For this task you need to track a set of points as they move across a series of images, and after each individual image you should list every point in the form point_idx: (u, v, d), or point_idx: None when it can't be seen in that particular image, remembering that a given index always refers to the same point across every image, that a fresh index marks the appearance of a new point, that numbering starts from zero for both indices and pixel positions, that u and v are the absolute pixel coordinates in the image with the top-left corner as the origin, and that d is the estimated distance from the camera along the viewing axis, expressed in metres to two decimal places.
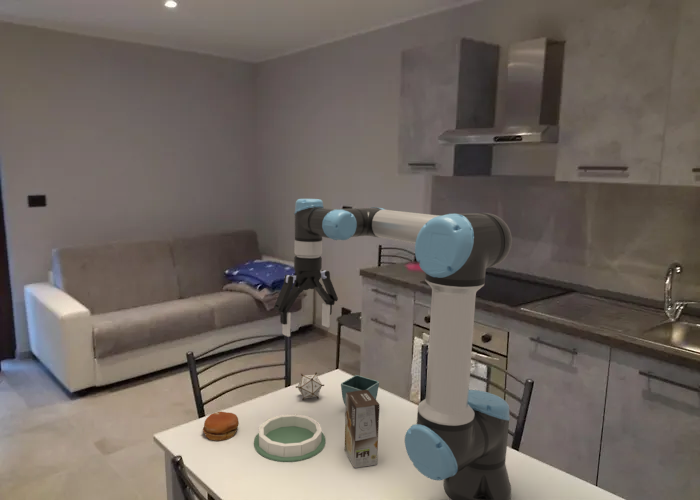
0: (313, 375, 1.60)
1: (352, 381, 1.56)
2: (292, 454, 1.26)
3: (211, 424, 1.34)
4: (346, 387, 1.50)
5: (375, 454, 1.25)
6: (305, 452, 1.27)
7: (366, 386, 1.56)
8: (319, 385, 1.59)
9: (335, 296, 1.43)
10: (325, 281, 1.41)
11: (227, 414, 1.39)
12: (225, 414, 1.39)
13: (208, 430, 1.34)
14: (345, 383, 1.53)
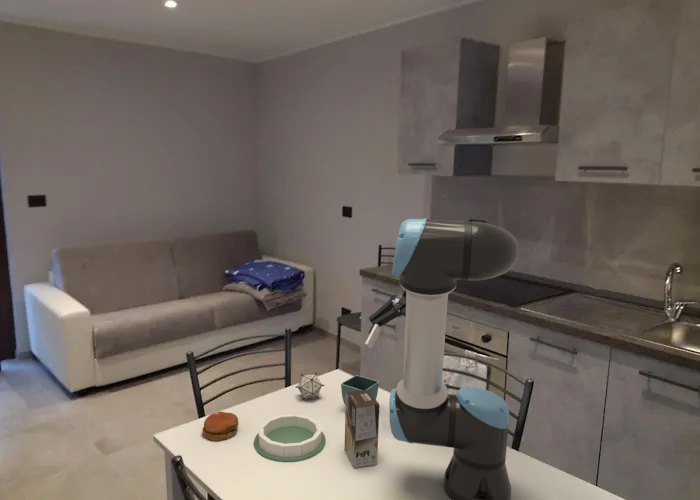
0: (313, 375, 1.60)
1: (352, 381, 1.56)
2: (292, 454, 1.26)
3: (211, 424, 1.34)
4: (346, 387, 1.50)
5: (375, 454, 1.25)
6: (305, 452, 1.27)
7: (366, 386, 1.56)
8: (319, 385, 1.59)
9: None
10: None
11: (227, 414, 1.39)
12: (225, 414, 1.39)
13: (208, 430, 1.34)
14: (345, 383, 1.53)
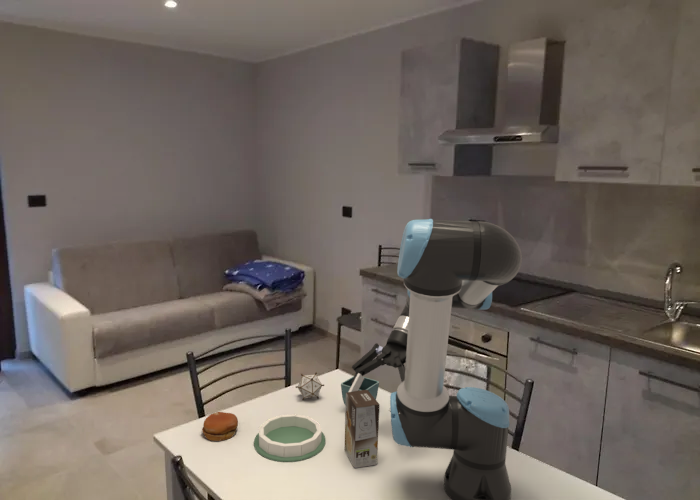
0: (313, 375, 1.60)
1: None
2: (292, 454, 1.26)
3: (210, 424, 1.34)
4: (346, 387, 1.50)
5: (375, 454, 1.25)
6: (305, 452, 1.27)
7: (366, 386, 1.56)
8: (319, 385, 1.59)
9: None
10: None
11: (226, 414, 1.39)
12: (224, 414, 1.39)
13: (207, 430, 1.34)
14: (345, 383, 1.53)
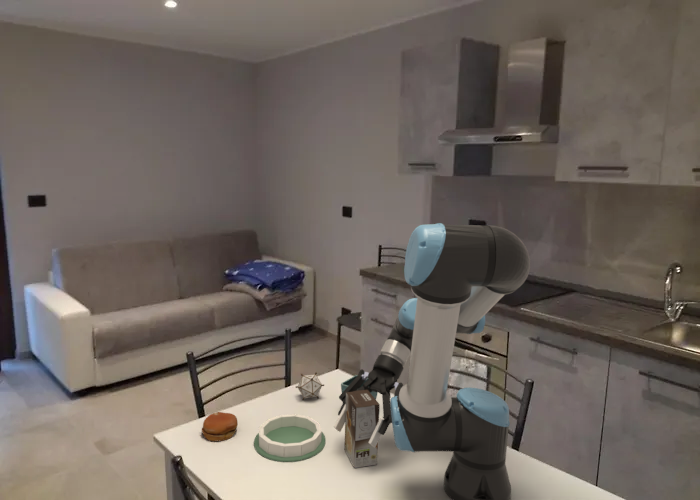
0: (313, 375, 1.60)
1: None
2: (292, 454, 1.26)
3: (210, 424, 1.34)
4: (346, 387, 1.50)
5: (375, 454, 1.25)
6: (305, 452, 1.27)
7: None
8: (319, 385, 1.59)
9: None
10: None
11: (226, 415, 1.39)
12: (224, 415, 1.39)
13: (207, 430, 1.33)
14: (345, 383, 1.53)
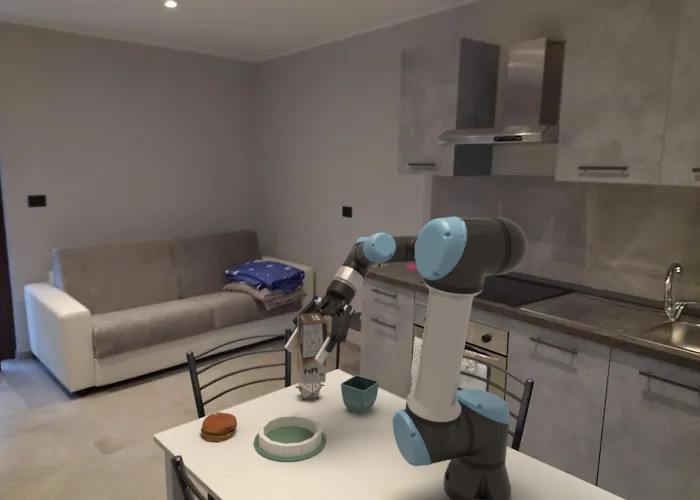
0: None
1: (352, 381, 1.56)
2: (292, 454, 1.26)
3: (209, 425, 1.34)
4: (346, 387, 1.50)
5: (323, 372, 1.29)
6: (305, 452, 1.27)
7: (366, 386, 1.56)
8: (319, 385, 1.59)
9: (340, 332, 1.27)
10: None
11: (225, 415, 1.39)
12: (223, 415, 1.39)
13: (206, 431, 1.33)
14: (345, 383, 1.53)
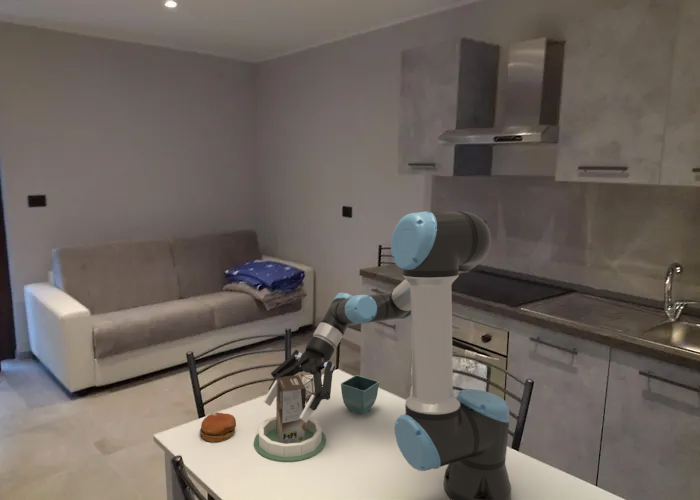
0: None
1: (352, 381, 1.56)
2: (292, 454, 1.26)
3: (208, 425, 1.34)
4: (346, 387, 1.50)
5: (302, 436, 1.31)
6: (305, 452, 1.27)
7: (366, 386, 1.56)
8: None
9: (324, 390, 1.28)
10: None
11: (224, 415, 1.38)
12: (222, 415, 1.38)
13: (205, 431, 1.33)
14: (345, 383, 1.53)
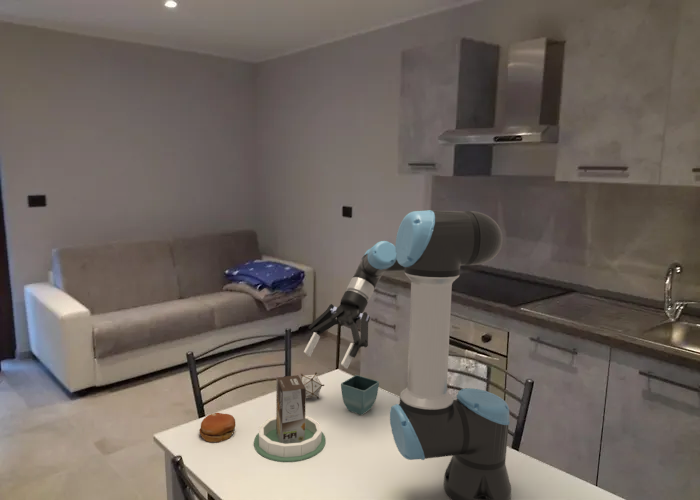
0: (313, 375, 1.60)
1: (352, 381, 1.56)
2: (292, 454, 1.26)
3: (208, 425, 1.34)
4: (346, 387, 1.50)
5: (302, 436, 1.31)
6: (305, 452, 1.27)
7: (366, 386, 1.56)
8: (319, 385, 1.59)
9: (362, 338, 1.37)
10: None
11: (224, 415, 1.38)
12: (222, 415, 1.38)
13: (204, 431, 1.33)
14: (345, 383, 1.53)
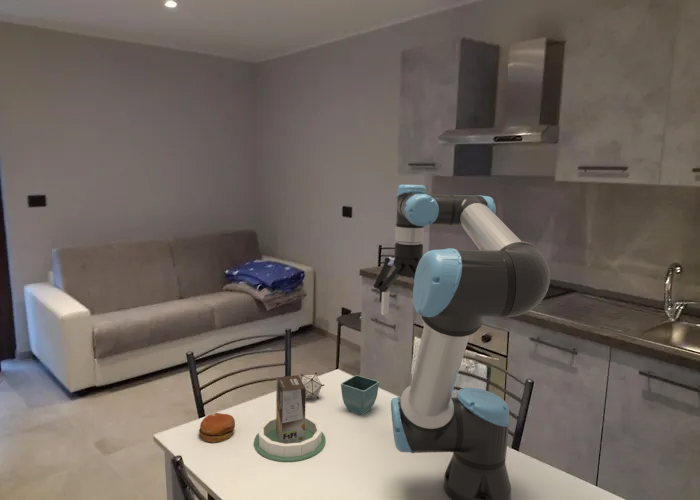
0: (313, 375, 1.60)
1: (352, 381, 1.56)
2: (292, 454, 1.26)
3: (207, 425, 1.34)
4: (346, 387, 1.50)
5: (302, 436, 1.31)
6: (305, 452, 1.27)
7: (366, 386, 1.56)
8: (319, 385, 1.59)
9: None
10: None
11: (223, 415, 1.38)
12: (221, 415, 1.38)
13: (204, 431, 1.33)
14: (345, 383, 1.53)
